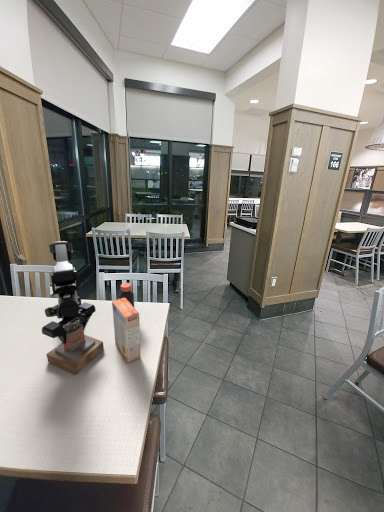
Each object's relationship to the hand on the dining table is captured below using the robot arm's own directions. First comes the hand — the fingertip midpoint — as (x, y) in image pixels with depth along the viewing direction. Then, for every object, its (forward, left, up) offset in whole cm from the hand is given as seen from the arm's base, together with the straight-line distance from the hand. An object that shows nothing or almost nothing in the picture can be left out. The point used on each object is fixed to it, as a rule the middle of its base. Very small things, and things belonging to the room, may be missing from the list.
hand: (73, 337), depth 85 cm
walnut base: (0, 0, -9) cm, 9 cm away
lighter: (0, 0, -4) cm, 4 cm away
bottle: (-27, +4, -9) cm, 29 cm away
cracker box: (-11, +16, -9) cm, 22 cm away
